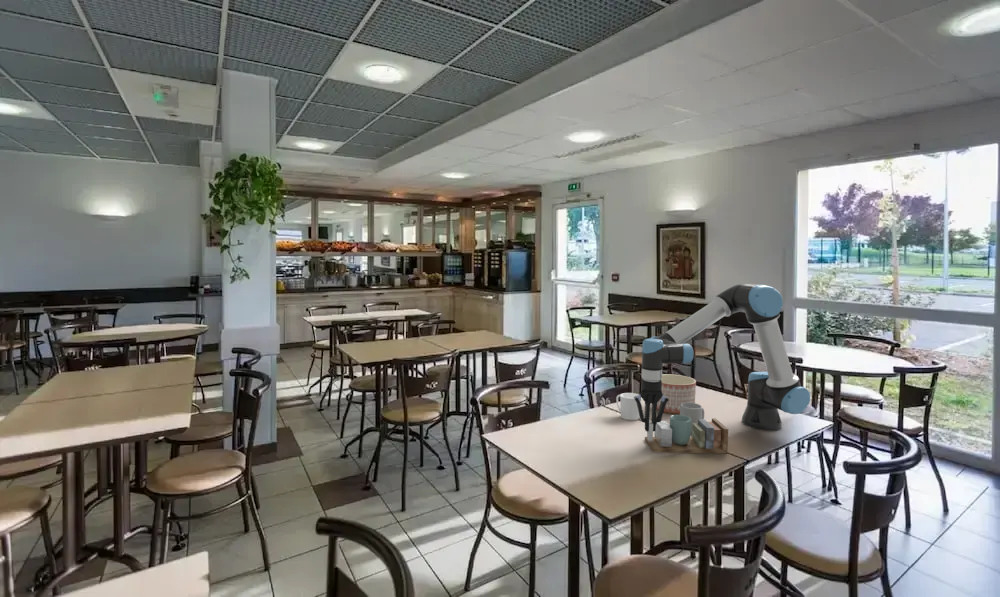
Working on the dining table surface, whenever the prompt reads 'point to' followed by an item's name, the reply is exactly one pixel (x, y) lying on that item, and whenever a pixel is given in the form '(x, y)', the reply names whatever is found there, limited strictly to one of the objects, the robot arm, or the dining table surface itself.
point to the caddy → (699, 439)
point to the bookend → (663, 434)
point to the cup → (680, 429)
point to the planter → (677, 392)
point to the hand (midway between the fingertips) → (649, 439)
